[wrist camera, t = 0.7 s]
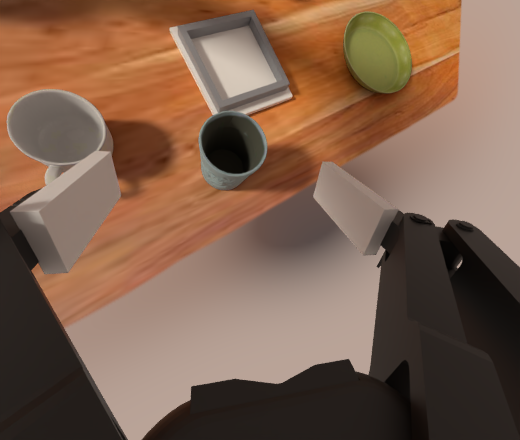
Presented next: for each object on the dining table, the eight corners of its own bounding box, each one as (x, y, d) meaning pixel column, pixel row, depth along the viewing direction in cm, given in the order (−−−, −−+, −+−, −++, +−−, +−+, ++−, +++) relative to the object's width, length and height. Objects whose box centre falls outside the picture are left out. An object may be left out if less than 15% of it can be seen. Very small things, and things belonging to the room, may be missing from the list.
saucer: (324, 67, 54) (332, 56, 50) (352, 7, 58) (361, -6, 55) (388, 115, 58) (399, 108, 55) (410, 56, 62) (421, 47, 59)
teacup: (60, 108, 37) (25, 73, 30) (130, 132, 40) (115, 107, 32) (26, 186, 35) (-21, 171, 27) (102, 206, 38) (79, 198, 30)
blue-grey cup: (190, 183, 42) (190, 162, 31) (205, 135, 44) (210, 98, 32) (242, 199, 45) (259, 185, 33) (254, 153, 46) (274, 125, 35)
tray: (170, 32, 43) (168, 17, 41) (249, 14, 49) (252, 0, 46) (218, 126, 45) (220, 118, 42) (290, 99, 50) (296, 90, 47)
